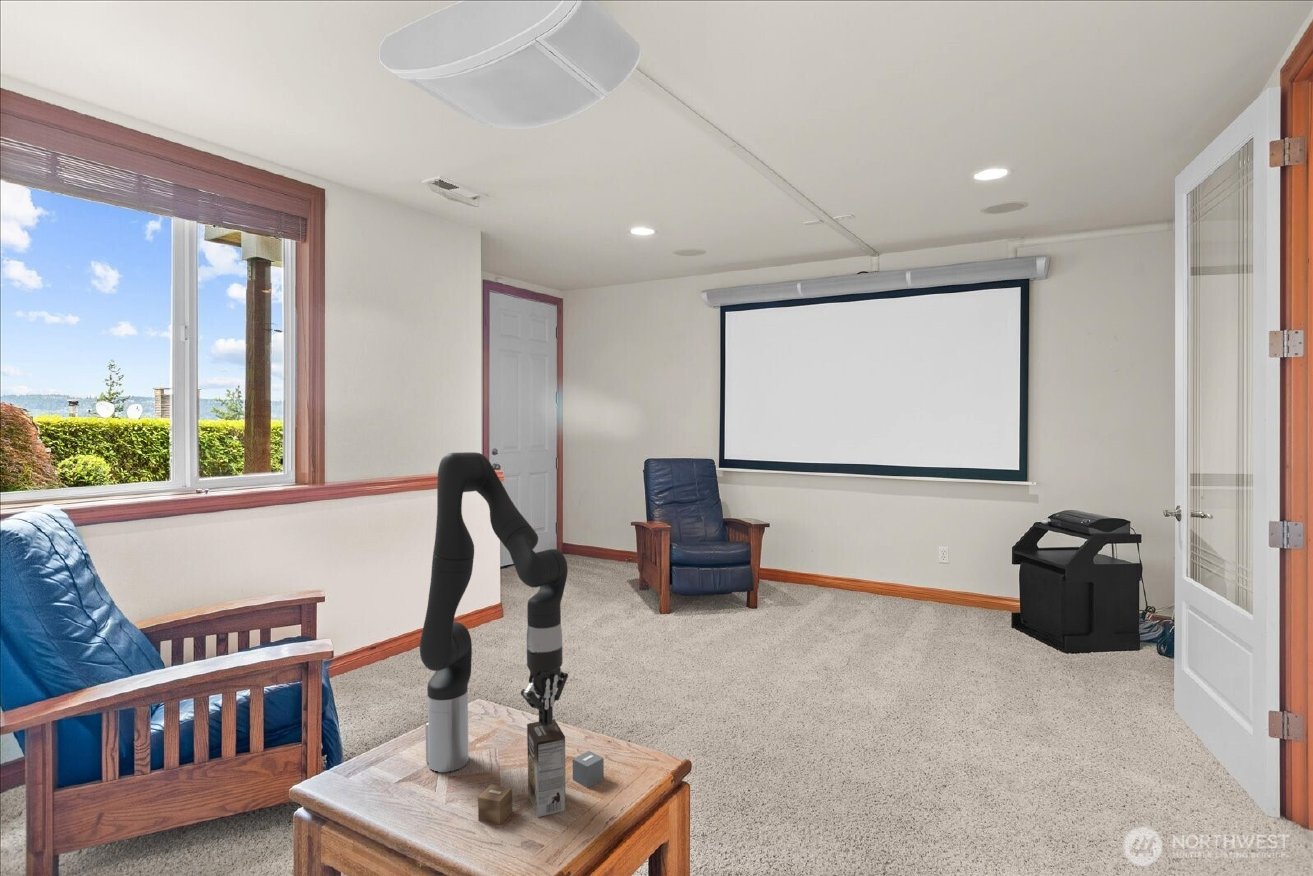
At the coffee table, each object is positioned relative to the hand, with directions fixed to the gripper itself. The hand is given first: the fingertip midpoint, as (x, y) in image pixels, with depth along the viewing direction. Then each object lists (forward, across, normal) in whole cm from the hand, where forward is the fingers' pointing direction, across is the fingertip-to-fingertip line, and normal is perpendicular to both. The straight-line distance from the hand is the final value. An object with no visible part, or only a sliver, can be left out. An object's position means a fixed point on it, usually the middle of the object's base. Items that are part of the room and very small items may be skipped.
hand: (545, 724), depth 141 cm
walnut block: (+17, +9, -6) cm, 20 cm away
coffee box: (+18, 0, 0) cm, 18 cm away
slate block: (+17, -12, +2) cm, 21 cm away
